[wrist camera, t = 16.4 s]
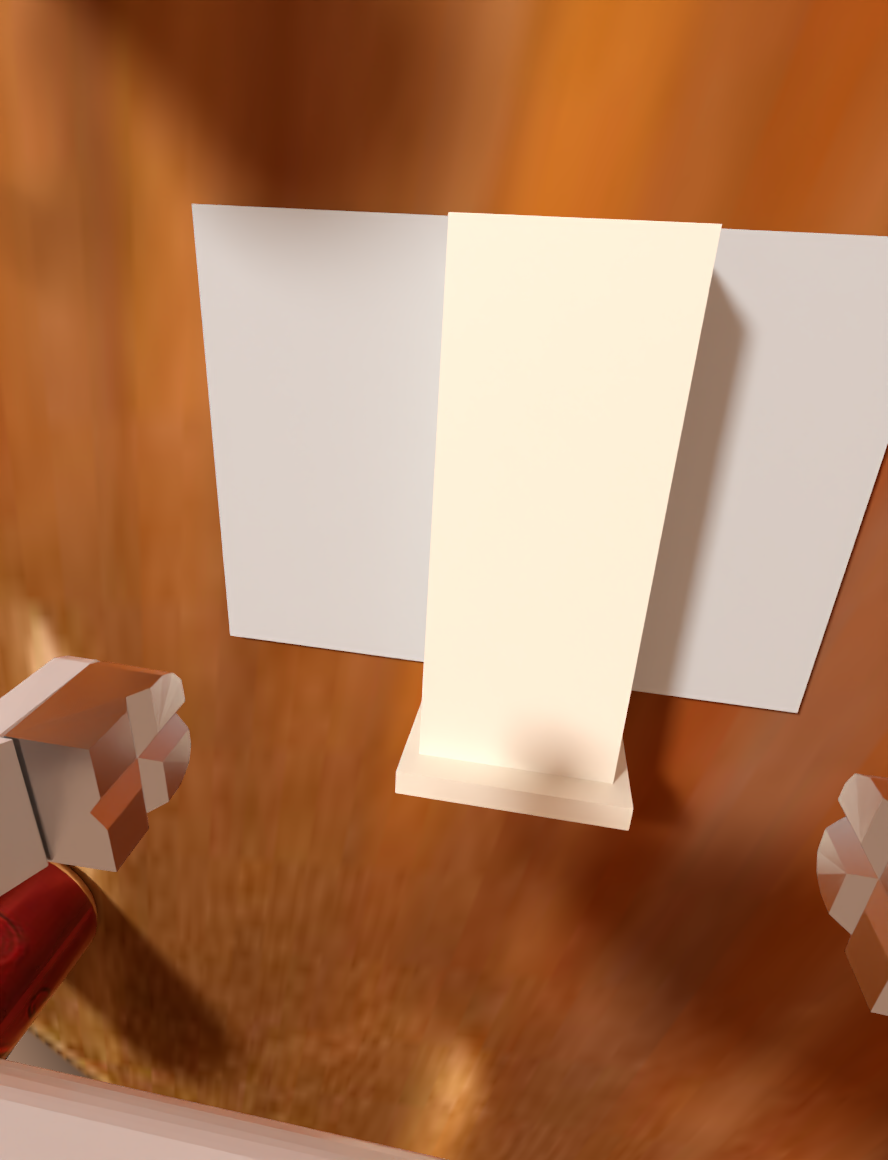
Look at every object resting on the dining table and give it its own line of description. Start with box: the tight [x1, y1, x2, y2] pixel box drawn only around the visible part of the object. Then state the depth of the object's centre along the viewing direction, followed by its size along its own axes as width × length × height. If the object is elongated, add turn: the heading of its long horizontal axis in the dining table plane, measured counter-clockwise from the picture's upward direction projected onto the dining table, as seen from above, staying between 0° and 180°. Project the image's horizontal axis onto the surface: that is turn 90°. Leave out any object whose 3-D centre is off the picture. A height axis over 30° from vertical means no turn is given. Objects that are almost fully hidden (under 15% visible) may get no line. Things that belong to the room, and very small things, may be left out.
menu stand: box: [395, 212, 722, 831], centre depth 19 cm, size 5×7×16 cm
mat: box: [192, 204, 888, 713], centre depth 20 cm, size 20×14×1 cm
